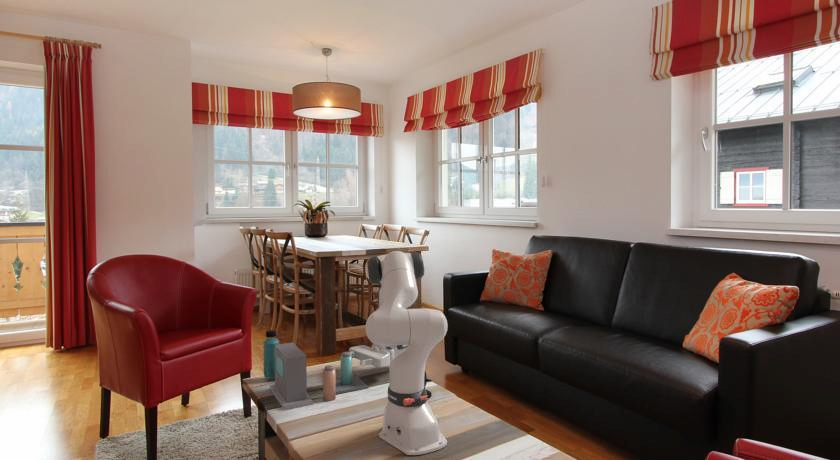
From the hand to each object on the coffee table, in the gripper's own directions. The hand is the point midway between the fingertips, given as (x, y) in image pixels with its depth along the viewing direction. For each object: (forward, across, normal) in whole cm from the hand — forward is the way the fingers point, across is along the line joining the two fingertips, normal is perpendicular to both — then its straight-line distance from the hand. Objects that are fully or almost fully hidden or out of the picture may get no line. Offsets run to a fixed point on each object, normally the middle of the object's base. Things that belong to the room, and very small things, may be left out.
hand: (353, 360), depth 197 cm
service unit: (+25, -6, +9) cm, 27 cm away
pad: (+4, 0, +9) cm, 10 cm away
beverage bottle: (+22, -26, +10) cm, 35 cm away
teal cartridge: (+4, 0, +8) cm, 9 cm away
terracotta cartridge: (+16, +6, +9) cm, 19 cm away
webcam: (-10, +28, +9) cm, 31 cm away
